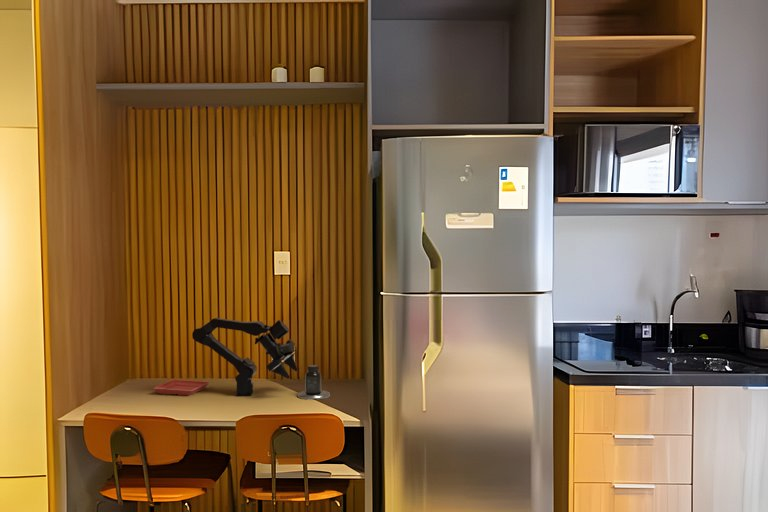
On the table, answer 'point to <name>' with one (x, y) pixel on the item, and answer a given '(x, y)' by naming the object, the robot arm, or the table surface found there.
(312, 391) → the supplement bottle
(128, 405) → the table surface
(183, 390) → the plant saucer
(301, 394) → the rosette plate
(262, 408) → the table surface
